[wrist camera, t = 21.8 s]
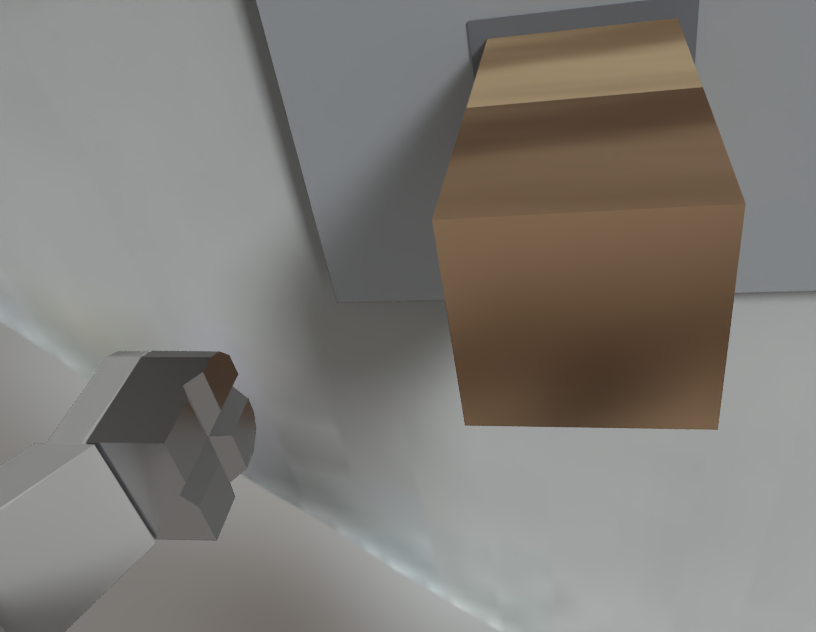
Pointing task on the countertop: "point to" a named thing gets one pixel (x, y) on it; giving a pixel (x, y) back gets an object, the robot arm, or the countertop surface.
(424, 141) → the board
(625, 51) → the maple block
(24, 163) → the countertop surface
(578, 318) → the walnut block
